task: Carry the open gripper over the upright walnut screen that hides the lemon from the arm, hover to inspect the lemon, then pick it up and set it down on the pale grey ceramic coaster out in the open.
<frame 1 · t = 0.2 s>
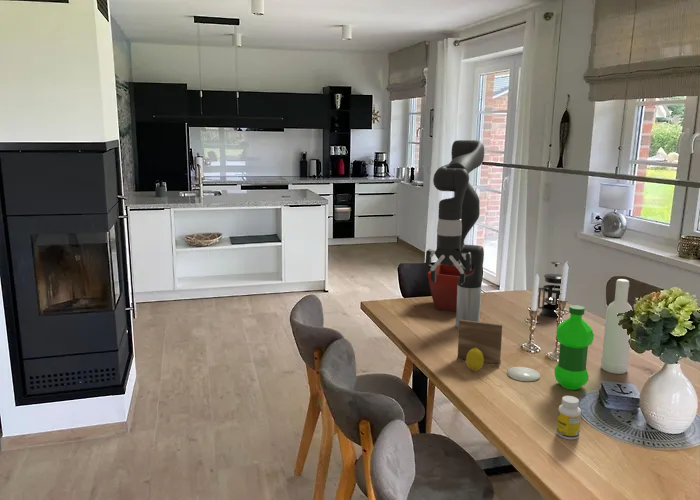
hand: (447, 283, 180), 29 cm above the table, fingers open, 8 cm apart
plant pot: (453, 307, 252), on the table
bottle: (613, 369, 185), on the table
supplement bottle: (567, 435, 145), on the table
walnut screen: (478, 362, 191), on the table
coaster: (523, 374, 181), on the table
lemon: (474, 371, 184), on the table
french press: (551, 315, 242), on the table
plastic bottle: (570, 386, 173), on the table
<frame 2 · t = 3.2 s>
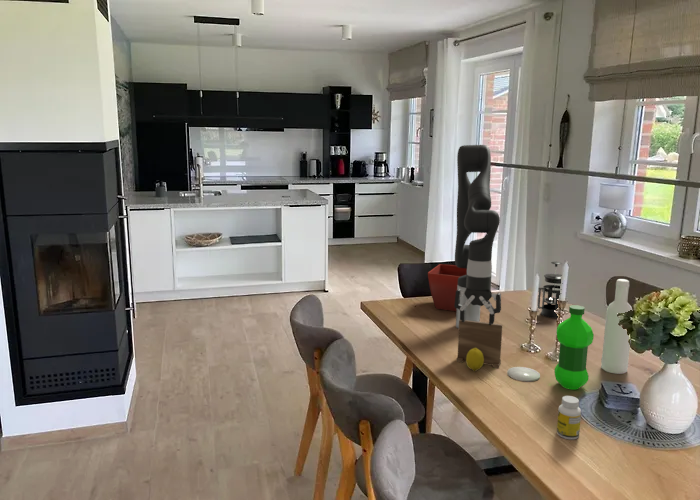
hand: (476, 323, 180), 16 cm above the table, fingers open, 8 cm apart
nothing on the table moved.
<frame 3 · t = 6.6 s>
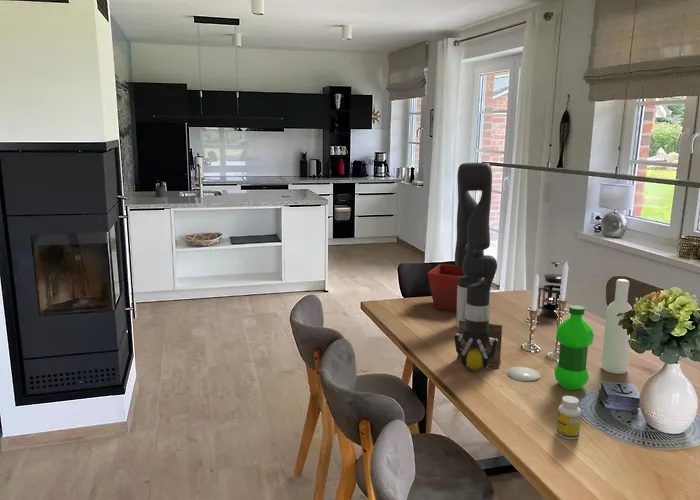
hand: (474, 366, 183), 2 cm above the table, fingers closed on lemon, 5 cm apart
lemon: (474, 371, 184), on the table, touching gripper
everything else where it was.
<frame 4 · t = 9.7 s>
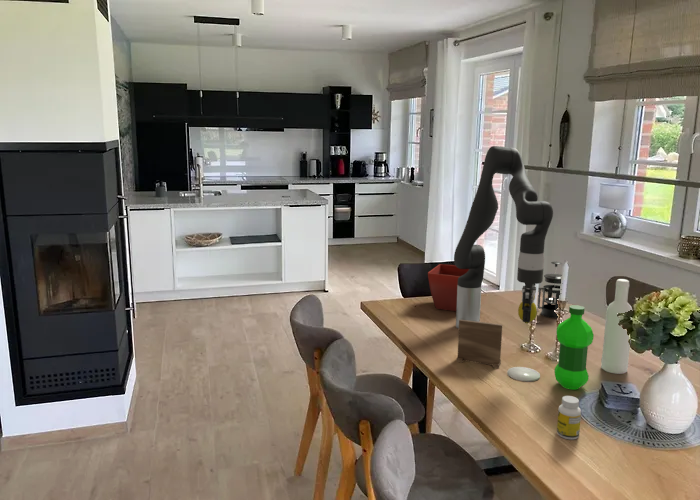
hand: (527, 318, 177), 19 cm above the table, fingers closed on lemon, 5 cm apart
lemon: (526, 324, 177), point 17 cm above the table, touching gripper
everything else where it was.
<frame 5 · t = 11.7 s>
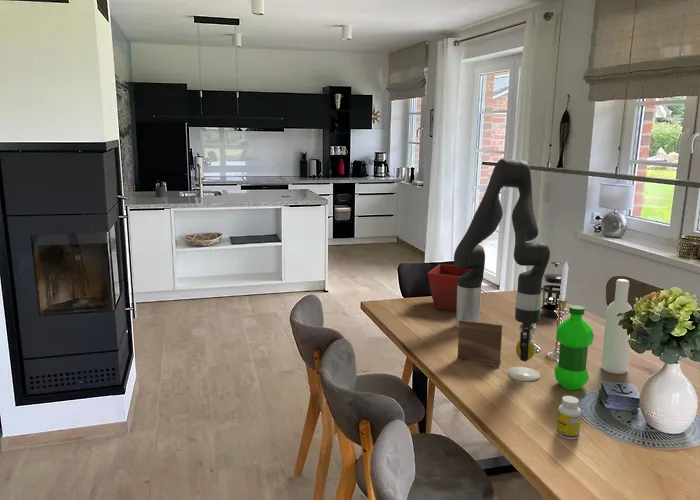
hand: (524, 356, 180), 6 cm above the table, fingers closed on lemon, 5 cm apart
lemon: (524, 362, 180), point 4 cm above the table, touching gripper
everything else where it was.
when the fingers open (3 cm above the table, at t = 12.9 s): lemon drops 1 cm, resting on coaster.
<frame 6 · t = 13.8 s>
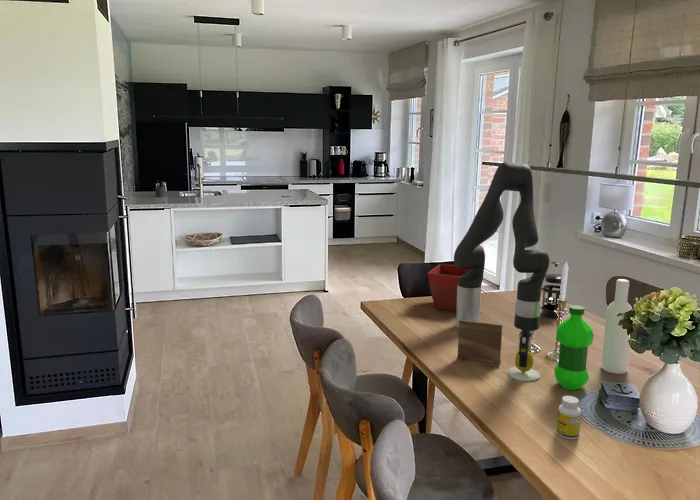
hand: (524, 361, 180), 4 cm above the table, fingers open, 8 cm apart
lemon: (523, 373, 181), resting on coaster
everything else where it was.
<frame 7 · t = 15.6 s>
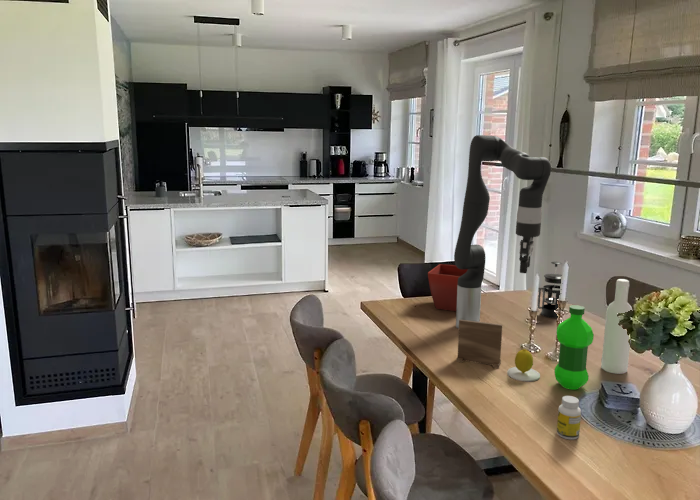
hand: (524, 269, 184), 32 cm above the table, fingers open, 8 cm apart
nothing on the table moved.
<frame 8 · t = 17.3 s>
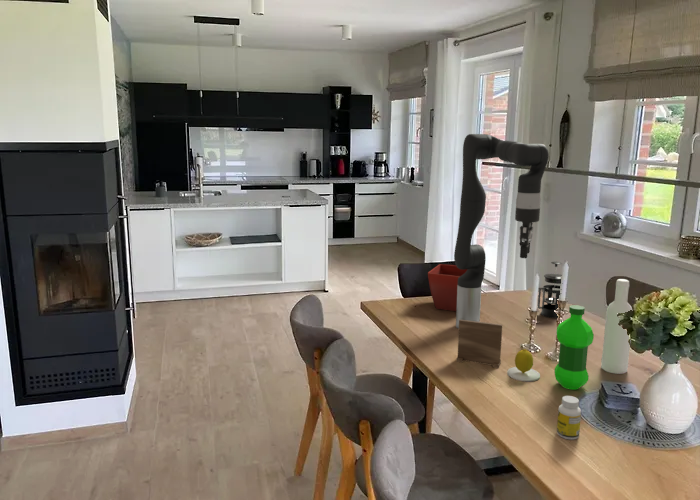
hand: (524, 255, 187), 36 cm above the table, fingers open, 8 cm apart
nothing on the table moved.
at the end: lemon 0.2 cm from the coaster (horizontally); lemon touching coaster; the gripper is holding nothing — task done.
